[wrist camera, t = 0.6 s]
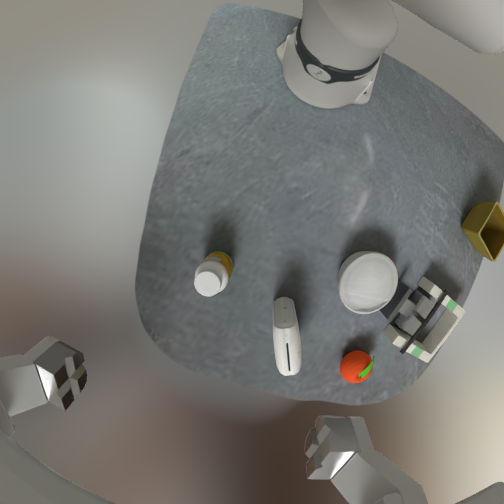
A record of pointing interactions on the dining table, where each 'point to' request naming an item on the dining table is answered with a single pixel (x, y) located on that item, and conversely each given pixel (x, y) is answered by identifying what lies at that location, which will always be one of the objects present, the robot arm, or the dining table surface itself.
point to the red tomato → (356, 366)
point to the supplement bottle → (213, 273)
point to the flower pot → (485, 229)
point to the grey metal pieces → (410, 311)
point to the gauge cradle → (438, 331)
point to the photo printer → (286, 336)
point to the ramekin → (367, 281)
